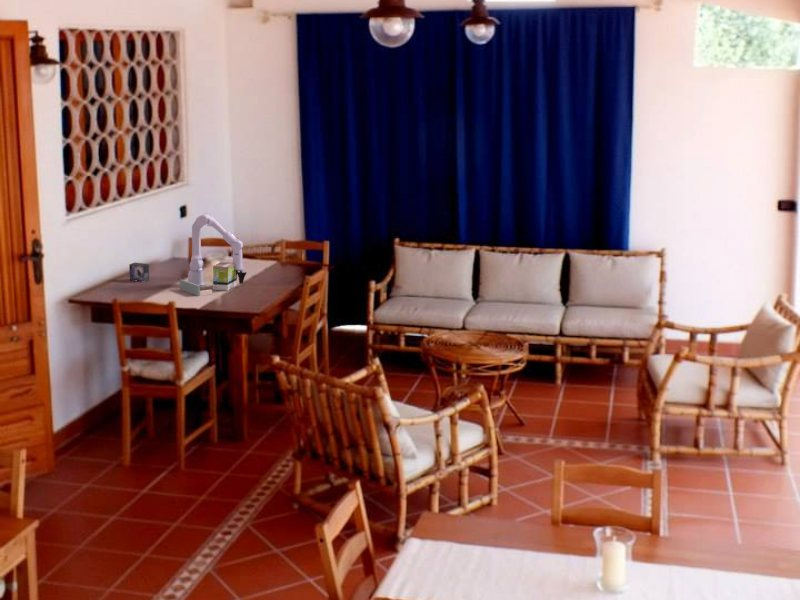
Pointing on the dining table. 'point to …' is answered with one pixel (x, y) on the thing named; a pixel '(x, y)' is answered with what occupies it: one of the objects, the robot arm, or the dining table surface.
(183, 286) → the display bay
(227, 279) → the tea box
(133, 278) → the small box
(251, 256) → the dining table surface
